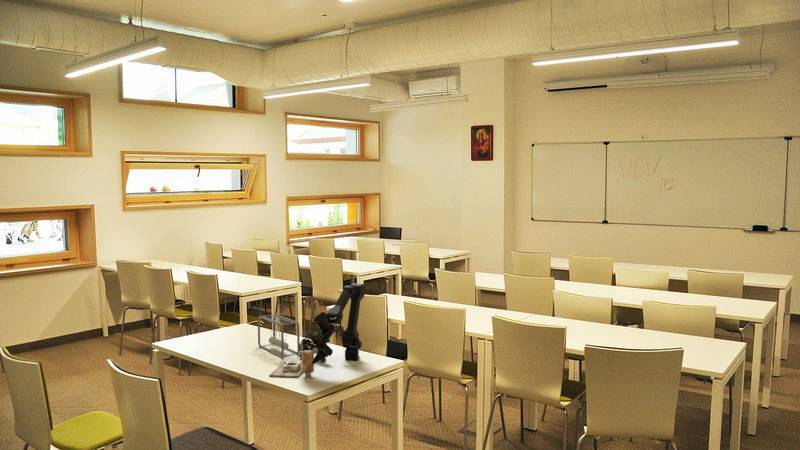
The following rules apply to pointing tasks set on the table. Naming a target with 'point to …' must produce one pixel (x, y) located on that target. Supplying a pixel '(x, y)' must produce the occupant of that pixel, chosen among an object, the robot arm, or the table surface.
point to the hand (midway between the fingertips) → (306, 361)
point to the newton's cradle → (276, 341)
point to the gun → (313, 350)
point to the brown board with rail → (288, 370)
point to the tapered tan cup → (307, 362)
